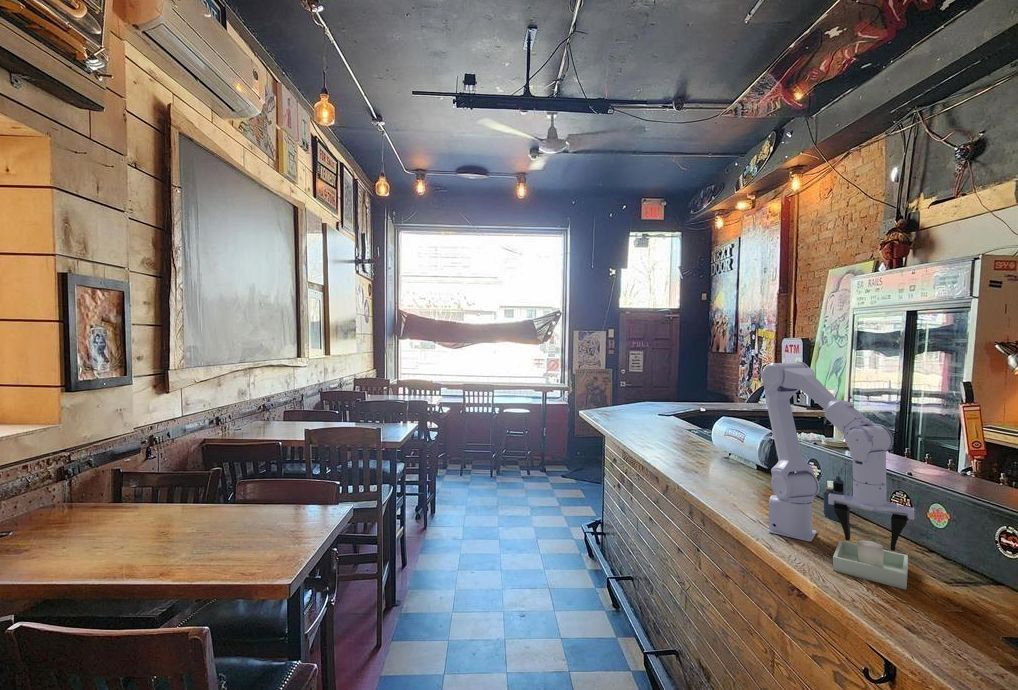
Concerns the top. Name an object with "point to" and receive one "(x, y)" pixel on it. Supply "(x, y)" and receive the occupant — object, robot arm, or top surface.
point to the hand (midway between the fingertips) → (869, 543)
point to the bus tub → (871, 566)
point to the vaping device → (837, 489)
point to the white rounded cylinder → (871, 553)
